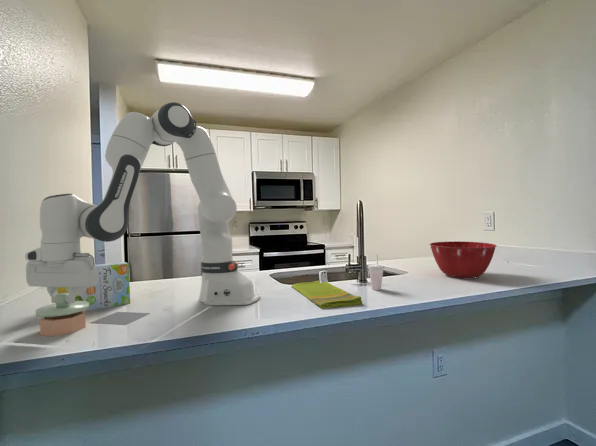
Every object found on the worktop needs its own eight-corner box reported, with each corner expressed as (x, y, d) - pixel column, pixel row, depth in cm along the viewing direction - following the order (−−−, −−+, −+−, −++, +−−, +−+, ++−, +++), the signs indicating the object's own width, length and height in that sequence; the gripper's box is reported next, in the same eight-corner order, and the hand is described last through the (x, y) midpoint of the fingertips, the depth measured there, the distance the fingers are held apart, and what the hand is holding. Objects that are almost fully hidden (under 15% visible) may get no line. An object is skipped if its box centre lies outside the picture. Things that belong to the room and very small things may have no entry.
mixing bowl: (503, 283, 139) (502, 247, 139) (430, 280, 149) (430, 246, 149) (490, 272, 166) (490, 241, 165) (429, 269, 176) (429, 241, 175)
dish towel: (321, 310, 107) (321, 301, 107) (290, 288, 141) (290, 280, 141) (363, 306, 112) (363, 296, 112) (324, 285, 146) (324, 277, 146)
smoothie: (386, 290, 130) (385, 255, 130) (370, 291, 130) (369, 255, 130) (382, 287, 137) (381, 253, 136) (366, 287, 137) (366, 254, 136)
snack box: (126, 302, 121) (125, 261, 121) (130, 305, 117) (129, 262, 116) (55, 314, 108) (53, 268, 107) (56, 317, 103) (54, 270, 103)
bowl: (94, 325, 95) (93, 310, 95) (62, 338, 85) (62, 321, 85) (65, 324, 97) (64, 308, 97) (31, 336, 87) (30, 319, 87)
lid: (99, 305, 95) (98, 289, 95) (62, 317, 84) (61, 300, 84) (64, 303, 98) (64, 288, 98) (23, 316, 86) (22, 298, 86)
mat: (150, 315, 104) (150, 313, 104) (125, 326, 93) (125, 324, 93) (117, 313, 106) (117, 311, 106) (89, 324, 96) (89, 322, 96)
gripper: (102, 251, 91) (104, 300, 92) (42, 251, 95) (44, 298, 96) (83, 254, 85) (85, 307, 86) (19, 254, 89) (22, 304, 90)
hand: (63, 302), depth 91 cm, fingers closed on lid, 3 cm apart
